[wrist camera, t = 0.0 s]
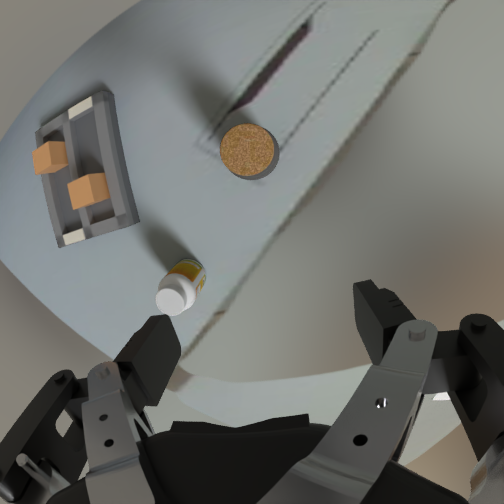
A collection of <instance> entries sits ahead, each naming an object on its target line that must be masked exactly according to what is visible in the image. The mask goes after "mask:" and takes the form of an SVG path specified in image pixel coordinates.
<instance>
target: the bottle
mask: <svg viewBox="0 0 504 504" xmlns="http://www.w3.org/2000/svg"><path fill="white" fill-rule="evenodd" d="M220 155H221V158H222V161H223V163H224V164H225V166H226V167H227V168H228V169H229V170H230V171H231V172H232V173H233V174H234V175H236V176H238V177H240V178H242V179H246V180H256V179H260V178H263V177H265V176H267V175H268V174H270V173H271V172H272V171H273V170H274V168H275V167H276V165H277V163H278V160H279V146H278V143H277V141H276V139H275V137H274V136H273V135H272V134H271V133H270V132H269V131H268V130H266V129H264V128H262V127H260V126H258V125H255V124H250V123H244V124H239V125H237V126H234V127H233V128H231V129H230V130H229V131H228V132H227V133H226V134H225V135H224V137H223V139H222V141H221V145H220Z"/></svg>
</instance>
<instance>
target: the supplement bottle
mask: <svg viewBox="0 0 504 504" xmlns="http://www.w3.org/2000/svg"><path fill="white" fill-rule="evenodd" d="M205 281H206V273H205V270H204V268H203V267H202V265H201V264H199V263H198V262H197V261H195V260H192V259H184V260H181V261H180V262H178V263H177V264H176V265H175V266H174V267H173V268H172V269H171V270H170V271H169V273H168V274H167V275H166V276H165V277H164V278H163V279H162V280H161V282H160V284H159V287H158V292H157V294H156V304H157V306H158V308H159V309H160V310H161V311H162V312H163V313H165V314H167V315H170V316H175V315H178V314H180V313H181V312H182V311H183V310H186V309H188V308H189V307H190V306H191V305H192V304H193V303H194V301H195V300H196V298H197V296H198V294H199V293H200V291H201V289H202V287H203V286H204V283H205Z"/></svg>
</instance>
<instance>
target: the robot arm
mask: <svg viewBox="0 0 504 504" xmlns="http://www.w3.org/2000/svg"><path fill="white" fill-rule="evenodd" d="M353 294H354V308H355V320H356V326H357V329H358V332H359V334H360V336H361V338H362V341H363V343H364V345H365V347H366V350H367V352H368V354H369V356H370V359H371V361H372V363H373V365H372V366H371V367H370V368H369V370H368V371H367V373H366V375H365V376H364V378H363V380H362V381H361V383H360V385H359V386H358V388H357V389H356V391H355V393H354V394H353V396H352V397H351V399H350V400H349V402H348V403H347V405H346V406H345V408H344V409H343V411H342V412H341V414H340V415H339V417H338V418H337V419H336V421H335V422H334V424H333V425H332V426H329V425H324V424H316V423H310V422H309V415H308V414H302V415H295V416H287V417H279V418H272V419H268V420H265V421H261V422H257V423H254V424H250V425H246V426H242V427H237V428H233V427H227V426H221V425H216V424H211V423H206V422H184V421H183V422H182V421H173V424H172V426H171V429H170V430H169V431H164V432H160V433H157V434H155V432H154V429H153V427H152V425H151V423H150V420H149V418H148V415H147V413H146V412H145V410H144V407H145V406H157V405H158V403H159V401H160V399H161V397H162V394H163V392H164V390H165V388H166V386H167V384H168V381H169V379H170V377H171V375H172V373H173V371H174V369H175V367H176V364H177V362H178V360H179V358H180V356H181V346H180V342H179V340H178V337H177V335H176V332H175V330H174V327H173V325H172V322H171V320H170V318H169V316H168V315H166V314H164V315H156V316H150V317H149V319H148V320H147V321H146V323H145V324H144V325H143V327H142V328H141V329H140V330H138V331H137V332H136V333H134V335H133V336H132V337H131V338H130V340H129V341H128V342H127V344H126V345H125V347H124V348H123V349H122V350H121V351H120V353H119V354H118V355H117V357H116V358H115V359H114V361H113V362H111V361H108V362H103V363H100V364H98V365H97V366H95V367H94V368H92V369H91V370H90V372H89V373H88V376H87V378H82V379H77V378H76V377H75V375H74V373H73V372H72V371H71V370H62V371H59V372H57V373H56V374H54V375H53V376H52V377H51V378H50V379H49V380H48V381H47V383H46V384H45V385H44V387H43V388H42V389H41V390H40V391H39V392H38V394H37V395H36V396H35V397H34V399H33V400H32V401H31V403H30V404H29V405H28V406H27V408H26V409H25V410H24V412H23V413H22V414H21V416H20V417H19V418H18V420H17V421H16V422H15V423H14V425H13V426H12V428H11V429H10V430H9V432H8V433H7V434H6V436H5V437H4V439H3V440H2V442H1V443H0V497H2V499H3V500H4V501H5V502H7V503H8V504H504V330H503V329H502V328H501V327H500V326H499V325H498V324H497V323H496V322H495V321H494V320H493V319H492V318H491V317H489V316H487V315H484V314H470V315H467V316H465V317H464V318H463V319H462V320H461V322H460V327H459V330H451V331H438V330H437V328H436V326H435V325H434V324H432V323H431V322H428V321H425V320H417V319H416V318H415V317H414V316H413V314H412V313H411V312H410V311H409V309H407V307H406V306H405V305H404V304H403V302H402V301H401V300H399V298H398V297H397V295H396V294H395V293H394V292H392V291H390V290H388V289H386V288H383V289H378V288H377V286H376V285H375V284H374V282H372V280H371V279H370V280H366V281H361V282H357V283H354V284H353ZM443 392H447V393H448V395H449V397H450V399H451V401H452V403H453V405H454V407H455V410H456V412H457V414H458V416H459V418H460V420H461V422H462V424H463V426H464V429H465V431H466V433H467V435H468V438H469V440H470V442H471V445H472V447H473V450H474V452H475V455H476V457H477V460H478V463H477V465H476V466H475V468H474V469H473V471H472V474H471V478H470V484H471V494H470V498H469V500H468V501H467V500H466V499H465V498H463V497H462V496H460V495H459V494H457V493H455V492H453V491H450V490H448V489H446V488H444V487H442V486H440V485H438V484H436V483H434V482H432V481H430V480H428V479H426V478H424V477H422V476H420V475H418V474H417V473H415V472H413V471H411V470H409V469H407V468H406V467H404V466H402V465H400V464H399V463H398V461H399V459H400V457H401V455H402V453H403V451H404V448H405V446H406V443H407V441H408V438H409V436H410V433H411V431H412V429H413V426H414V424H415V421H416V419H417V416H418V414H419V411H420V408H421V406H422V403H423V400H424V397H425V394H434V393H443ZM64 409H65V411H66V412H67V413H68V415H69V416H70V417H71V419H72V420H73V422H72V424H71V425H70V427H69V429H68V430H67V432H66V434H65V435H64V437H62V436H61V435H60V434H59V433H58V432H57V430H56V426H55V424H56V420H57V419H58V417H59V415H60V414H61V413H62V411H63V410H64ZM87 459H88V463H89V472H88V473H87V474H86V476H85V477H84V478H82V479H80V480H78V478H79V476H80V474H81V472H82V470H83V468H84V466H85V463H86V461H87Z"/></svg>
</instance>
